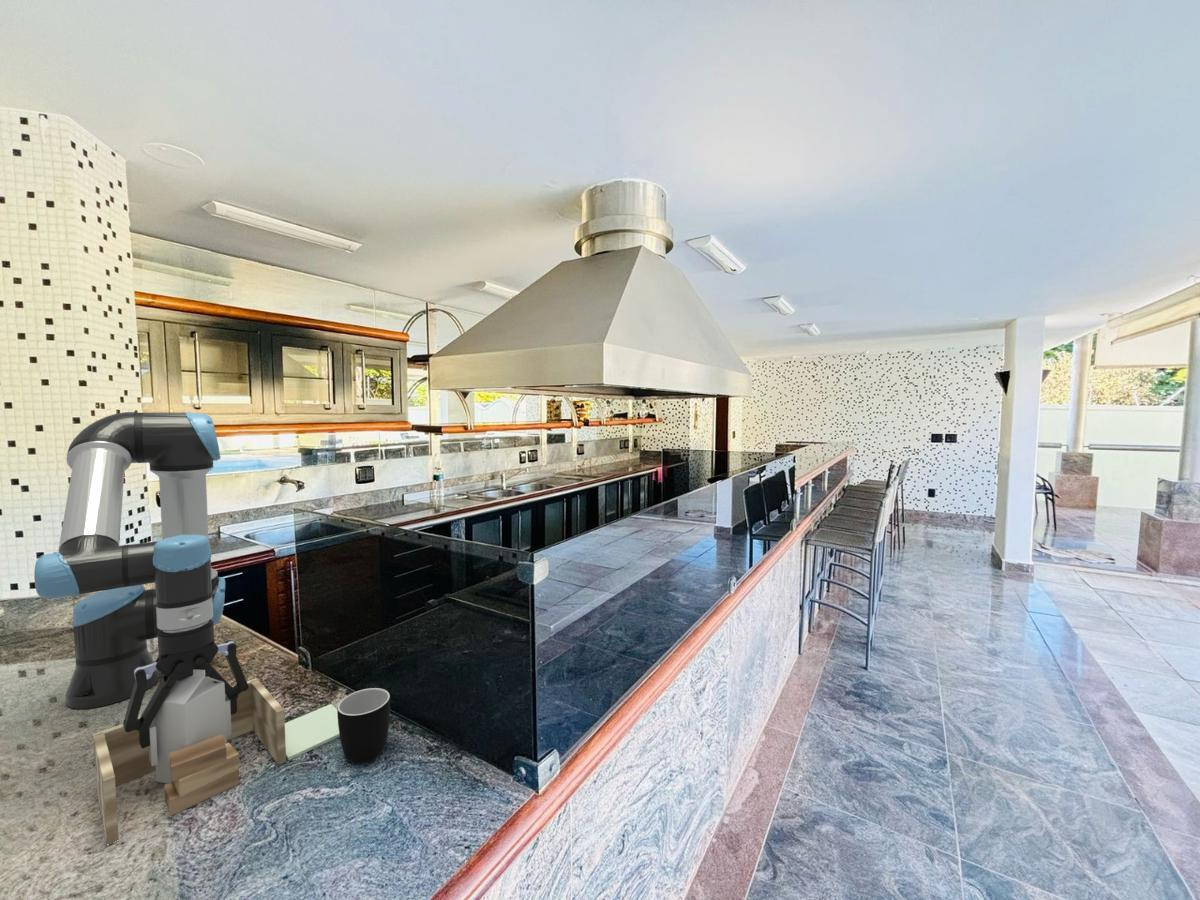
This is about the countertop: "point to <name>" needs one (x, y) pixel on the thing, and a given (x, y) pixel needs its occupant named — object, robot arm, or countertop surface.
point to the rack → (127, 761)
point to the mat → (311, 731)
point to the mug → (364, 724)
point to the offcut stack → (201, 773)
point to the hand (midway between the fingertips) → (191, 746)
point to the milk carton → (189, 718)
